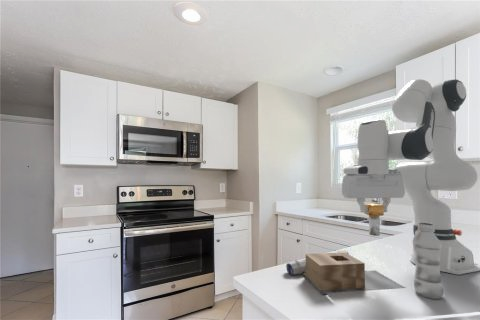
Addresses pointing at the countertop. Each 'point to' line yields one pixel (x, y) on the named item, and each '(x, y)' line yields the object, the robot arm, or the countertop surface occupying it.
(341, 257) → the hitch block
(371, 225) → the brass knob
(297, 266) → the white handheld device
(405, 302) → the countertop surface
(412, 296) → the countertop surface
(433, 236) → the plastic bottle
